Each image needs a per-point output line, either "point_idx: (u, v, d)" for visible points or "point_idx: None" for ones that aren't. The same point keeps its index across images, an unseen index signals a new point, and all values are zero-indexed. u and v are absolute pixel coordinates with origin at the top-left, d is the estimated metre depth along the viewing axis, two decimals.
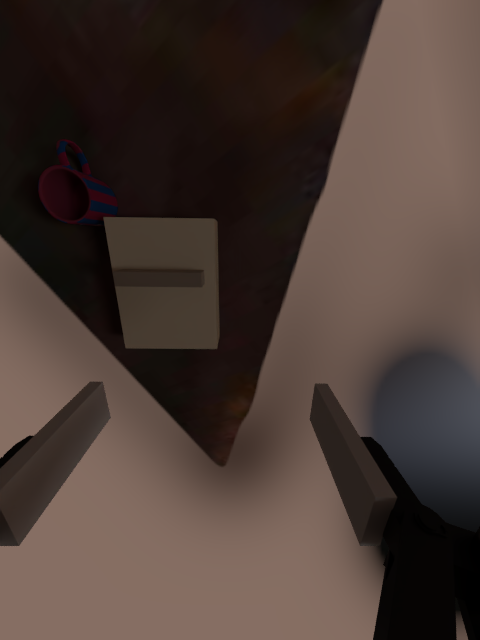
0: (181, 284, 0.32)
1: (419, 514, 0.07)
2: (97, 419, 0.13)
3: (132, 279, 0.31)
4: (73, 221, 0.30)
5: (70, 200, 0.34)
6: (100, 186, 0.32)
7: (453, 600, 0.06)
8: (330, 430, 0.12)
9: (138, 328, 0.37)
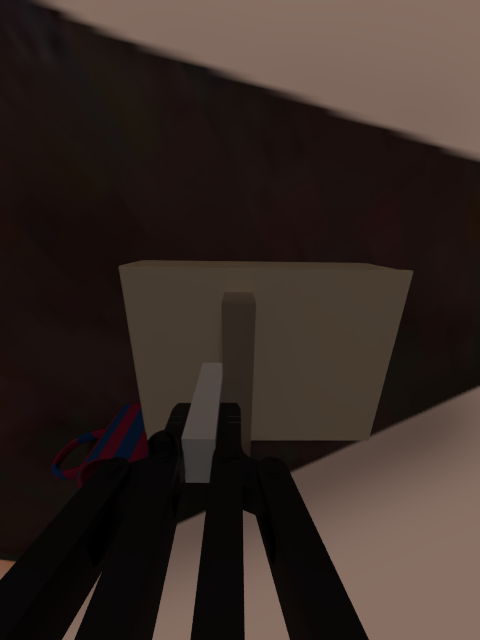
0: (248, 347, 0.14)
1: (221, 452, 0.09)
2: None
3: None
4: None
5: None
6: (110, 428, 0.23)
7: (242, 498, 0.08)
8: None
9: (334, 418, 0.20)
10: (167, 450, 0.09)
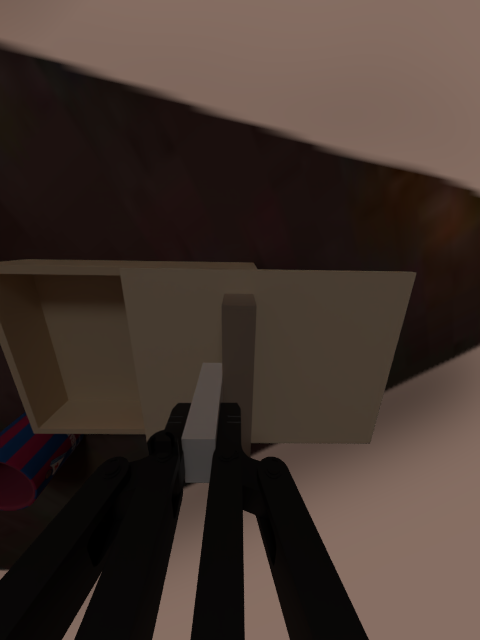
0: (248, 349, 0.14)
1: (221, 452, 0.09)
2: None
3: None
4: (31, 482, 0.20)
5: None
6: (5, 429, 0.22)
7: (242, 498, 0.08)
8: None
9: (335, 421, 0.20)
10: (167, 450, 0.09)
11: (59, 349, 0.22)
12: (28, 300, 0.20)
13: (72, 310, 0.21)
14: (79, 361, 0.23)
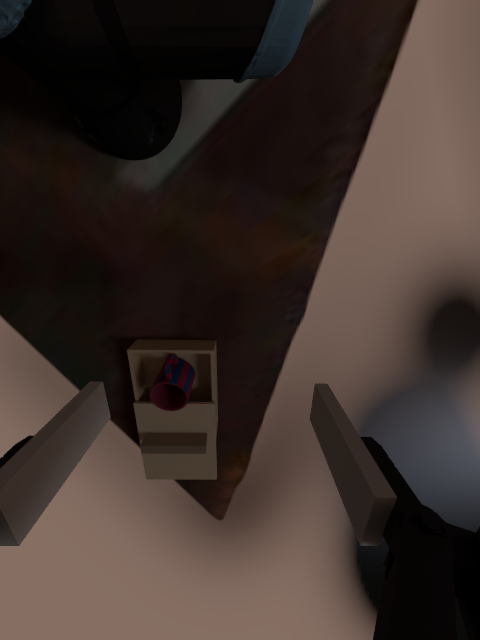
0: (190, 452, 0.43)
1: (419, 514, 0.07)
2: (97, 419, 0.13)
3: (154, 449, 0.43)
4: (173, 410, 0.41)
5: None
6: (188, 376, 0.42)
7: (452, 600, 0.06)
8: (330, 430, 0.12)
9: (156, 467, 0.48)
10: None
11: None
12: None
13: (193, 356, 0.45)
14: (165, 353, 0.45)
